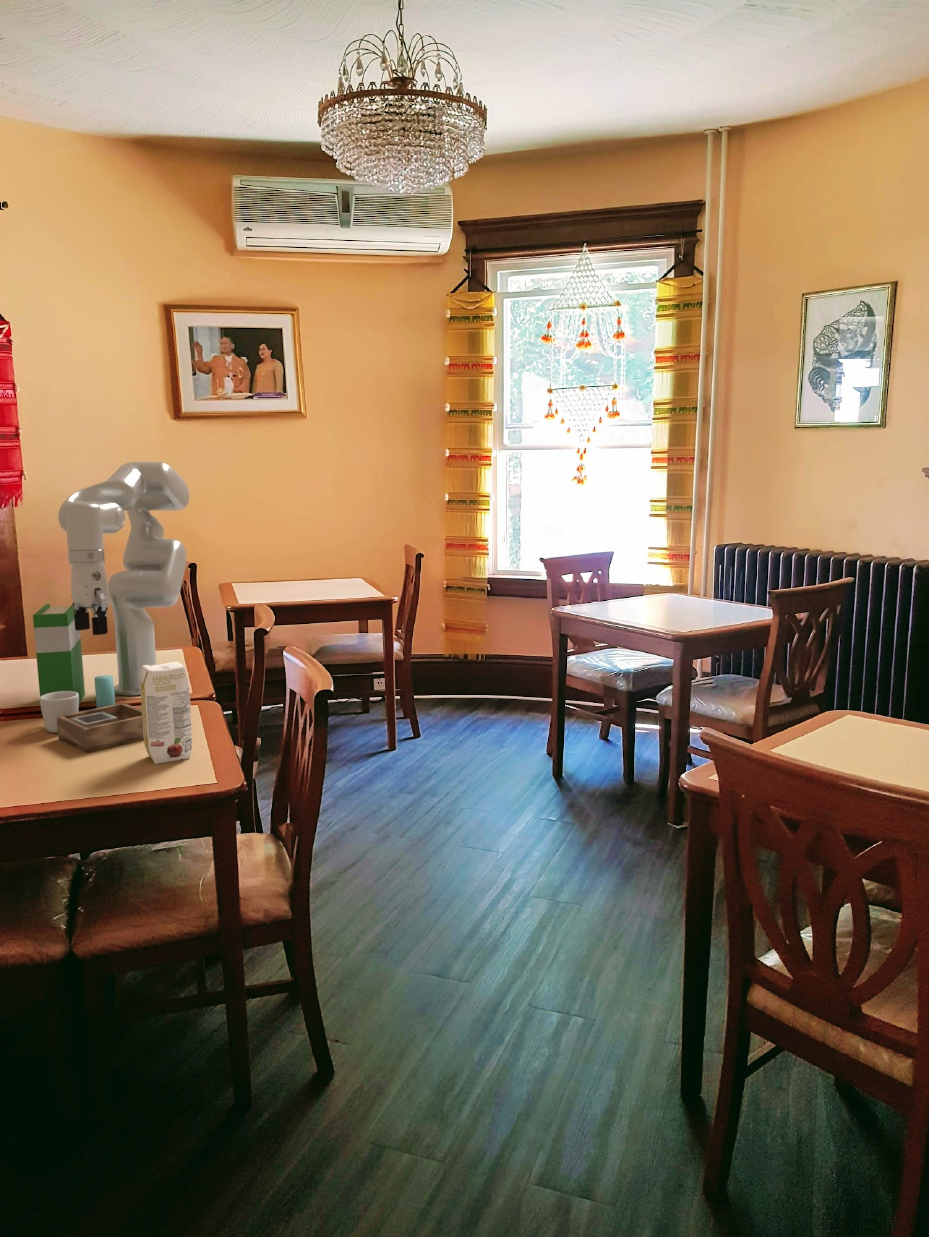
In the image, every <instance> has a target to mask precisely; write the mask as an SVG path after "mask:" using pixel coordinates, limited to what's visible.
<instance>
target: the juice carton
mask: <svg viewBox="0 0 929 1237" xmlns="http://www.w3.org/2000/svg"><path fill="white" fill-rule="evenodd" d="M140 688H141V695H140V700H141V710H142V718H143V732H144V739H143V743H144V747H145V750H146V752H147V755H148V757H149V758H150V759H151V761H152V762H153V763H154V764H156V765H160V764H164V763H165V762H166V763H170V762H175V761H181V759H183V760H187V759H190V758H191V754H192V749H193V732H192V731H193V730H192V728H193V726H192V715H191V714H192V711H191V698H190V696H191V694H190V680H189V675H188V672H187V669H186V667H185V665H183V664H182V663H180V662H179V661H172V662H166V663H162V664H156V665H143V666H142V669H141V676H140Z"/></svg>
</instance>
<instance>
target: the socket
mask: <svg viewBox="0 0 929 1237" xmlns="http://www.w3.org/2000/svg"><path fill="white" fill-rule="evenodd" d="M71 720H72V721H74V722H77V723H79V724H81V725H83V726H86V727H93V726H97V725H102V724H107V723H111V722H116V721H118V718H117V717H115V716H112V715H110V714H107V713H105V712H98V713H93V714H89V715H84V716H79V717H74V718H71Z"/></svg>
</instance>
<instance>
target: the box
mask: <svg viewBox="0 0 929 1237" xmlns="http://www.w3.org/2000/svg"><path fill="white" fill-rule="evenodd" d="M98 712H105V713H107V714H110V715H112V716H115V717H117V718H118V721H116V722H111V723H107V724H102V725H97V726H93V727H86V726H83V725H81V724H79V723H77V722H74V721H72V720H71V718H74V717H79V716H84V715H89V714H93V713H98ZM57 727H58V733H57V737H58V739H57V740H60V741H62V742H64V743H65V744H68V745H70V746H71V747H74V748H76V749H78V750H80V751H82V752H84V753H86V754H88V753H89V754H90V753H93V752H96V751H97V752H98V751H102V750H106V749H109V748H113V746H114V747H118V746H117V745H119V746H123V745H126V744H125V743H127V744H130V742H131V743H134V742H133V741H135V742H138V741H137V740H139V741H142V739H143V740H144V732H143V718H142V708H139V707H136V706H133V705H130V704H128V703H126V702H122V703H117V704H116V703H115V705H111V706H106V707H101V708H97V707H96V708H93V709H88V710H87V709H86V710H82V711H78V712H77V713H72V714H67V715H62V716H57ZM105 748H106V749H105Z"/></svg>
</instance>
